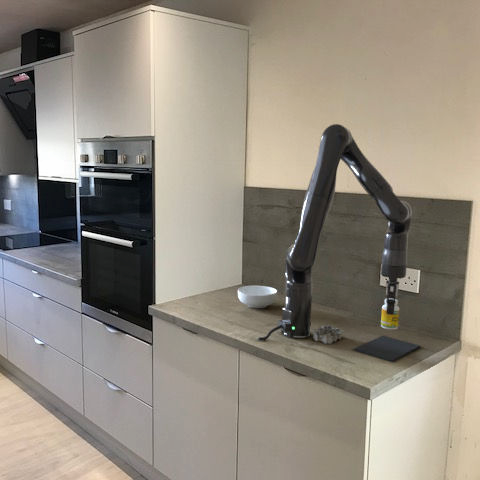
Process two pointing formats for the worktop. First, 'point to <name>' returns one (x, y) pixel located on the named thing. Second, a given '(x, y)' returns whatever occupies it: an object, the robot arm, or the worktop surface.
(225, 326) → the worktop surface
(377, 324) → the worktop surface
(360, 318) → the worktop surface
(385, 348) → the placemat
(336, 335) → the egg carton
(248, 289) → the cereal bowl
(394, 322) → the supplement bottle
